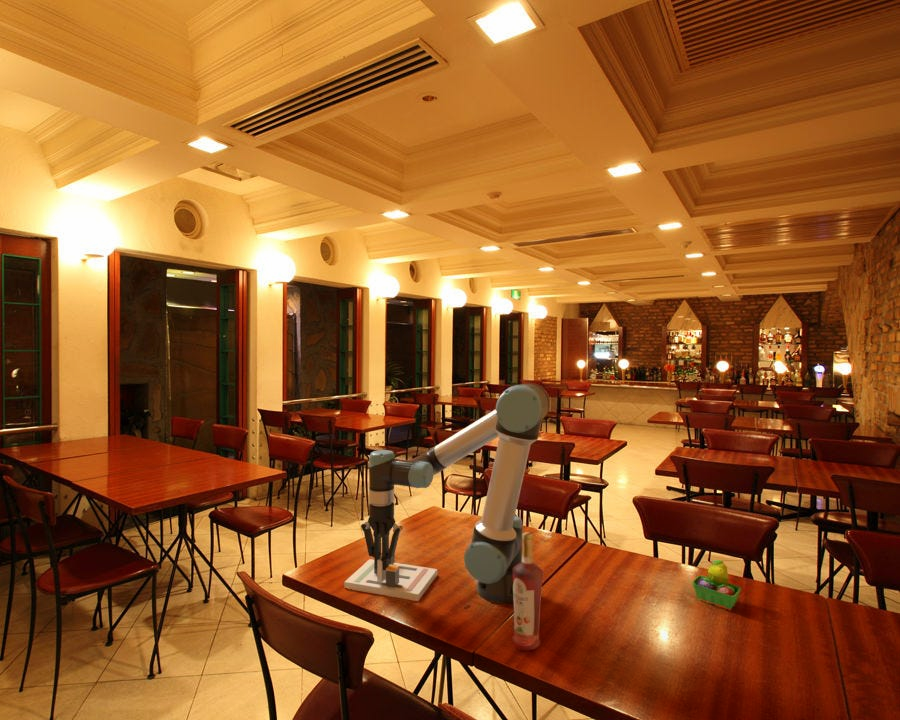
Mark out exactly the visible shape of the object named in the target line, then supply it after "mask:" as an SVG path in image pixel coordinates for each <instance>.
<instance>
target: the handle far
mask: <svg viewBox="0 0 900 720" xmlns="http://www.w3.org/2000/svg"><path fill="white" fill-rule="evenodd" d="M395 555H396V553H395V554H394V556H393V557H392V558H391V559H388V566H389V565H390V564H391V565H393V564H394V563H396V562H395V561H396V560H395V559H396V557H395Z"/></svg>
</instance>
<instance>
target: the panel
mask: <svg viewBox="0 0 900 720" xmlns="http://www.w3.org/2000/svg"><path fill="white" fill-rule="evenodd" d="M393 565H398V566H399V583H398V584H397V585H396V587H392V586H386V578H385V579H384V580H383V581H382V582H377V574H375V573H374V558H373V559H372V558H369V559H368V560H367V561H366V562H364V564H363V565H362V566H360V567H359V568H358V569H356V571H355V572H354V573H352V574H351V575H350V576H349V577H348V578H347V579H346V580H345V581H344V589H345V588H347V590H351V589H352V591H358V592H363V593H369V594H370V593H371V594H374V595H381V596H386V597H393V598H399V599H403V600H410V601H415V602H419V601H420V600H421V598H422V597H423V595H424V594H425V593H426V591H427V590H428V589H429V587H430V586H431V584H432V583H433V582H434V580H435V579H436V578H437V576H438V569H437V568H432V567H431V568H430V567H426V566H425V567H424V566H418V565H411V564H405V563H398V562H395V563H394V564H393Z"/></svg>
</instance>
